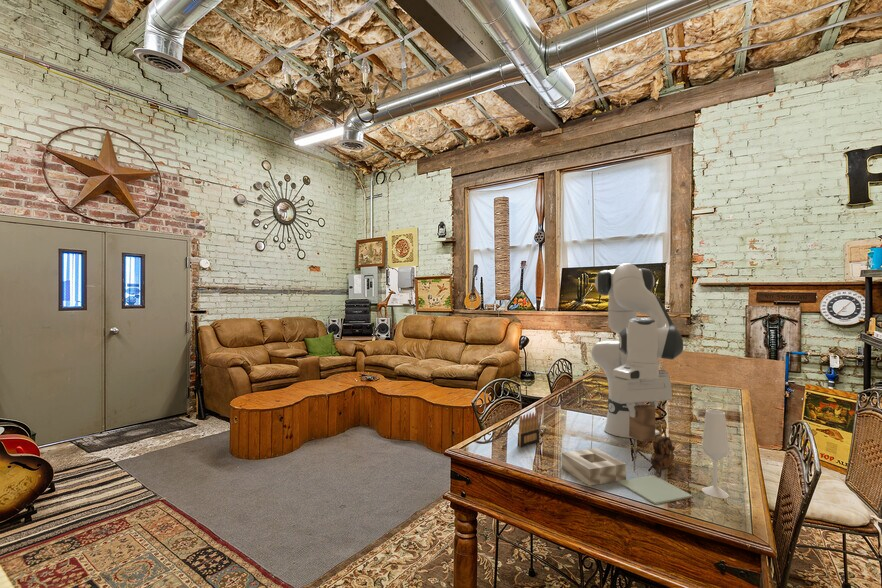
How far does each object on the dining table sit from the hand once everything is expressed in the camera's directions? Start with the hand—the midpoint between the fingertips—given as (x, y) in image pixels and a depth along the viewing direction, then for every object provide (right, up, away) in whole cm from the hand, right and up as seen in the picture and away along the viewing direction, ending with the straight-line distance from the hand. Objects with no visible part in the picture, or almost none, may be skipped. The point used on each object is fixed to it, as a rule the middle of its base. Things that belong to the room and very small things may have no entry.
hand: (642, 416), depth 123 cm
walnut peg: (0, -7, 0) cm, 7 cm away
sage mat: (+3, -22, -2) cm, 22 cm away
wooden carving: (+15, -22, +15) cm, 30 cm away
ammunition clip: (-27, -22, +36) cm, 50 cm away
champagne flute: (+20, -22, -3) cm, 30 cm away
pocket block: (-12, -22, +9) cm, 26 cm away
